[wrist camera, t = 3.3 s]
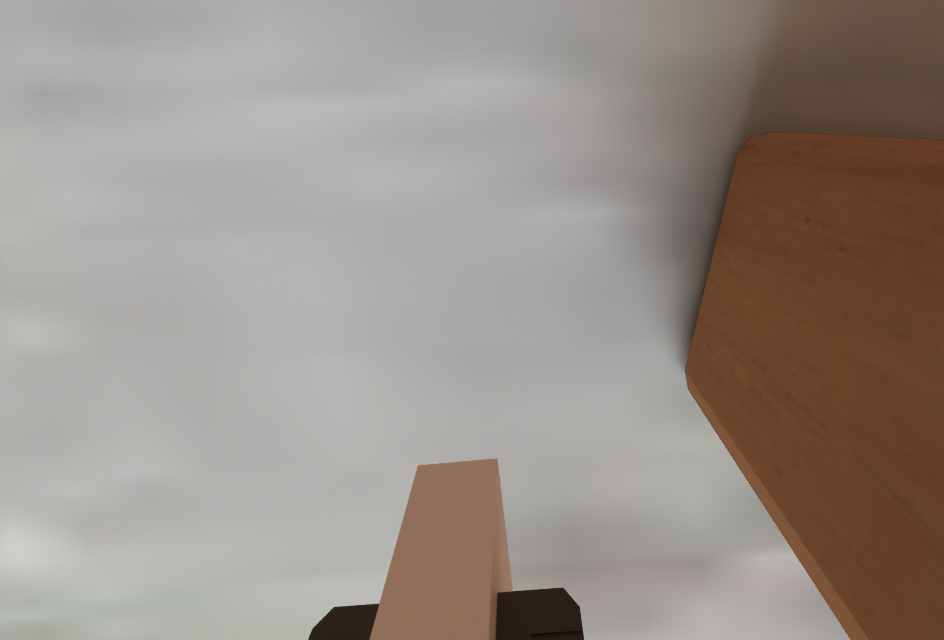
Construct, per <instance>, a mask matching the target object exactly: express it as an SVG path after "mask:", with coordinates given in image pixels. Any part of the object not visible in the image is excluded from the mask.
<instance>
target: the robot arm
mask: <svg viewBox="0 0 944 640" xmlns="http://www.w3.org/2000/svg"><path fill="white" fill-rule="evenodd" d="M308 640H584V636H583V628H582V621H581V613H580V607H579V606H578V604H577V603H576V602H575V601H574V600H573V599H572V597H571V596H570V595H569V594H568V593H567V592H566V590H565V589H564V588H552V589H538V590H525V591H512V580H511V571H510V563H509V554H508V546H507V537H506V528H505V520H504V511H503V503H502V494H501V486H500V477H499V468H498V460H497V459H485V460H474V461H462V462H451V463H439V464H428V465H418V467H417V471H416V475H415V478H414V482H413V485H412V489H411V493H410V496H409V500H408V503H407V507H406V510H405V514H404V518H403V521H402V525H401V528H400V532H399V536H398V539H397V543H396V546H395V550H394V554H393V557H392V561H391V564H390V568H389V572H388V575H387V579H386V582H385V586H384V589H383V593H382V597H381V600H380V604H369V605H356V606H343V607H334V608H333V609H332V610H331V611H330V612H329V613H328V614H327V615H326V616H325V617H324V618H323V619H322V620H321V621H320V622H319V623H318V624H317V625H316V626H315V627H314V628H313V629H312V631H311V634H310V636H309V639H308Z"/></svg>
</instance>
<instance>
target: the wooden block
mask: <svg viewBox="0 0 944 640" xmlns="http://www.w3.org/2000/svg"><path fill="white" fill-rule="evenodd" d="M685 374H686V380H687V386H688V390H689V391H690V393H691V395H692V396H693V398H694V399H695V401H696V402H697V404H698V405H699V407H700V408H701V410H702V412H703V413H704V415H705V416H706V418H707V419H708V421H709V422H710V424H711V425H712V427H713V428H714V430H715V432H716V433H717V435H718V436H719V438H720V439H721V441H722V442H723V444H724V445H725V447H726V448H727V450H728V452H729V453H730V455H731V456H732V458H733V459H734V461H735V462H736V464H737V465H738V467H739V468H740V470H741V472H742V473H743V475H744V476H745V478H746V479H747V481H748V482H749V484H750V485H751V487H752V488H753V490H754V492H755V493H756V495H757V496H758V498H759V499H760V501H761V502H762V504H763V505H764V507H765V509H766V510H767V512H768V513H769V515H770V516H771V518H772V519H773V521H774V522H775V524H776V525H777V527H778V529H779V530H780V532H781V533H782V535H783V536H784V538H785V539H786V541H787V542H788V544H789V545H790V547H791V549H792V550H793V552H794V553H795V555H796V556H797V558H798V559H799V561H800V562H801V564H802V565H803V567H804V569H805V570H806V572H807V573H808V575H809V576H810V578H811V579H812V581H813V582H814V584H815V585H816V587H817V589H818V590H819V592H820V593H821V595H822V596H823V598H824V599H825V601H826V602H827V604H828V606H829V607H830V609H831V610H832V612H833V613H834V615H835V616H836V618H837V619H838V621H839V622H840V624H841V626H842V627H843V629H844V630H845V632H846V633H847V635H848V636H849V638H850V639H851V640H944V140H942V139H919V138H896V137H873V136H850V135H826V134H803V133H780V132H771V133H766V134H762V135H758V136H753V137H750V138H749V139H748V141H747V142H746V144H745V145H744V147H743V148H742V149H741V151H740V152H739V154H738V155H737V157H736V161H735V165H734V170H733V174H732V178H731V182H730V186H729V190H728V194H727V198H726V203H725V207H724V211H723V215H722V219H721V223H720V227H719V232H718V236H717V240H716V244H715V248H714V252H713V256H712V260H711V265H710V269H709V273H708V277H707V281H706V285H705V289H704V293H703V298H702V302H701V306H700V310H699V314H698V318H697V322H696V326H695V331H694V335H693V339H692V343H691V347H690V351H689V355H688V359H687V364H686V368H685Z"/></svg>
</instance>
